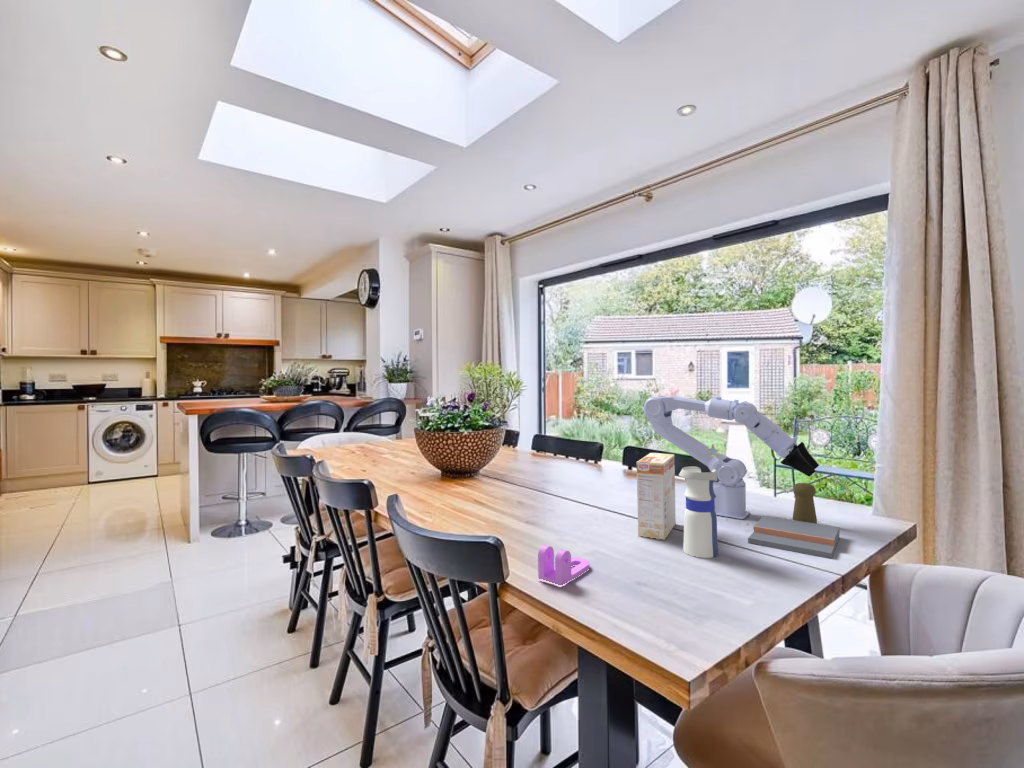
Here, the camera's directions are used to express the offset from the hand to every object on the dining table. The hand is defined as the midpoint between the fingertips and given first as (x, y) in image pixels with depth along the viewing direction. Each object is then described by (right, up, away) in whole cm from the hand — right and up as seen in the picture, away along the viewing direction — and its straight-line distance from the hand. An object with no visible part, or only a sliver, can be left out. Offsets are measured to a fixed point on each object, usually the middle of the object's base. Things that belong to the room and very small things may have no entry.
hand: (814, 471), depth 128 cm
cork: (-1, -15, +3) cm, 15 cm away
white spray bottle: (-37, -16, -16) cm, 43 cm away
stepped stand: (-11, -15, -10) cm, 21 cm away
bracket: (-69, -17, -27) cm, 76 cm away
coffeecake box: (-42, -16, 0) cm, 45 cm away
